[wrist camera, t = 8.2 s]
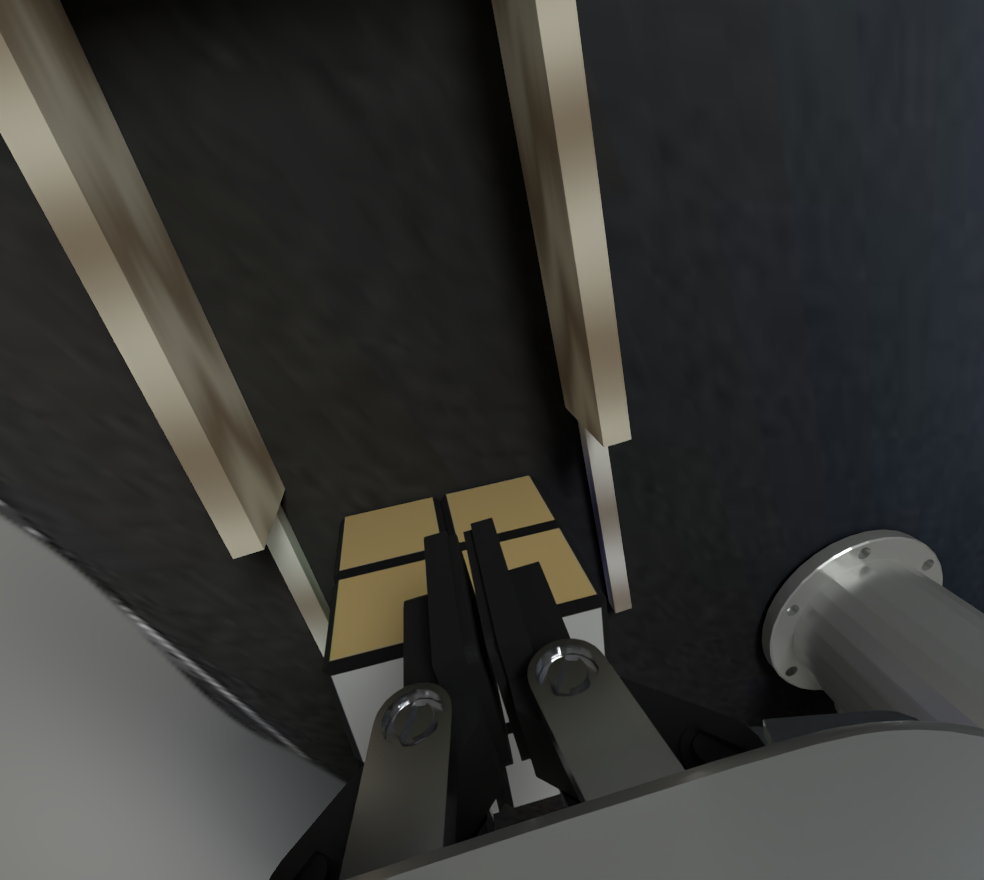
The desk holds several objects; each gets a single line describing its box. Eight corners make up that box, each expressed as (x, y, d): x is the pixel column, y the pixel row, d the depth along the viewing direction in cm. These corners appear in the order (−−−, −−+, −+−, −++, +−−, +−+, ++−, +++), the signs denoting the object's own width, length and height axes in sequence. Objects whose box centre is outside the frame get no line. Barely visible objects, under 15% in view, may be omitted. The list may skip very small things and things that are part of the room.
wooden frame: (624, 596, 32) (665, 660, 27) (347, 687, 30) (341, 769, 26) (495, -235, 17) (537, -399, 12) (-59, -132, 16) (-239, -274, 11)
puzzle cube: (552, 618, 31) (622, 780, 22) (385, 661, 30) (387, 851, 21) (534, 470, 27) (609, 597, 18) (339, 514, 26) (317, 672, 17)
